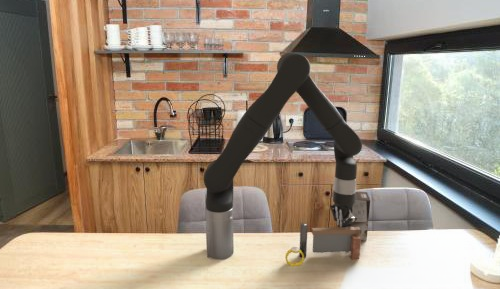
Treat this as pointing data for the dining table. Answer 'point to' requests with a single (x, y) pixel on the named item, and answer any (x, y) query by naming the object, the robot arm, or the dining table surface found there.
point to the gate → (333, 239)
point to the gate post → (303, 239)
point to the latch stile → (355, 247)
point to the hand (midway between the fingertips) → (341, 234)
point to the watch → (294, 250)
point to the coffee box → (361, 213)
